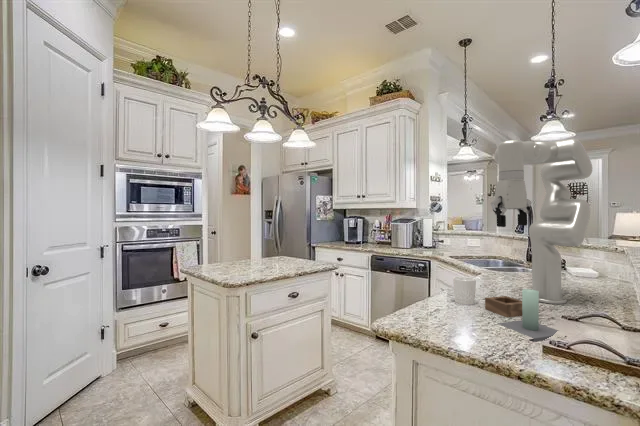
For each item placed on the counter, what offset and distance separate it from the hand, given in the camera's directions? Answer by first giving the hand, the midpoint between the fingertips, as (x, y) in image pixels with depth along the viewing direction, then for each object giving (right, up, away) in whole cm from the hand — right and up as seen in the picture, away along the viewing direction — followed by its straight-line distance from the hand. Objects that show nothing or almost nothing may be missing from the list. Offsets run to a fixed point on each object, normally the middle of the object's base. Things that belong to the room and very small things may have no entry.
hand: (512, 226), depth 109 cm
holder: (-3, -30, -2) cm, 31 cm away
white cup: (-12, -31, +10) cm, 34 cm away
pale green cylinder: (-5, -29, -17) cm, 35 cm away
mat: (-5, -30, -17) cm, 35 cm away
